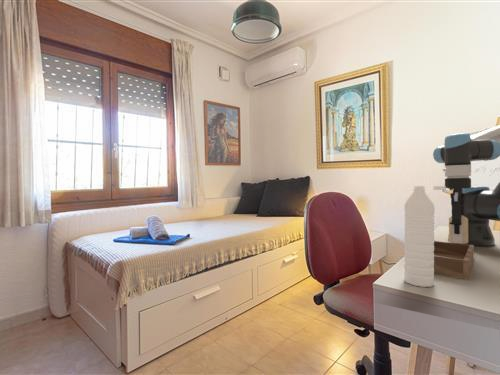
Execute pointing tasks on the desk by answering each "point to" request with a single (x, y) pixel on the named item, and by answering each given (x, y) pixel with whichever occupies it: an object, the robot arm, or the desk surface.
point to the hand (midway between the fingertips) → (458, 241)
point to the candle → (464, 229)
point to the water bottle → (419, 238)
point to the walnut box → (453, 259)
